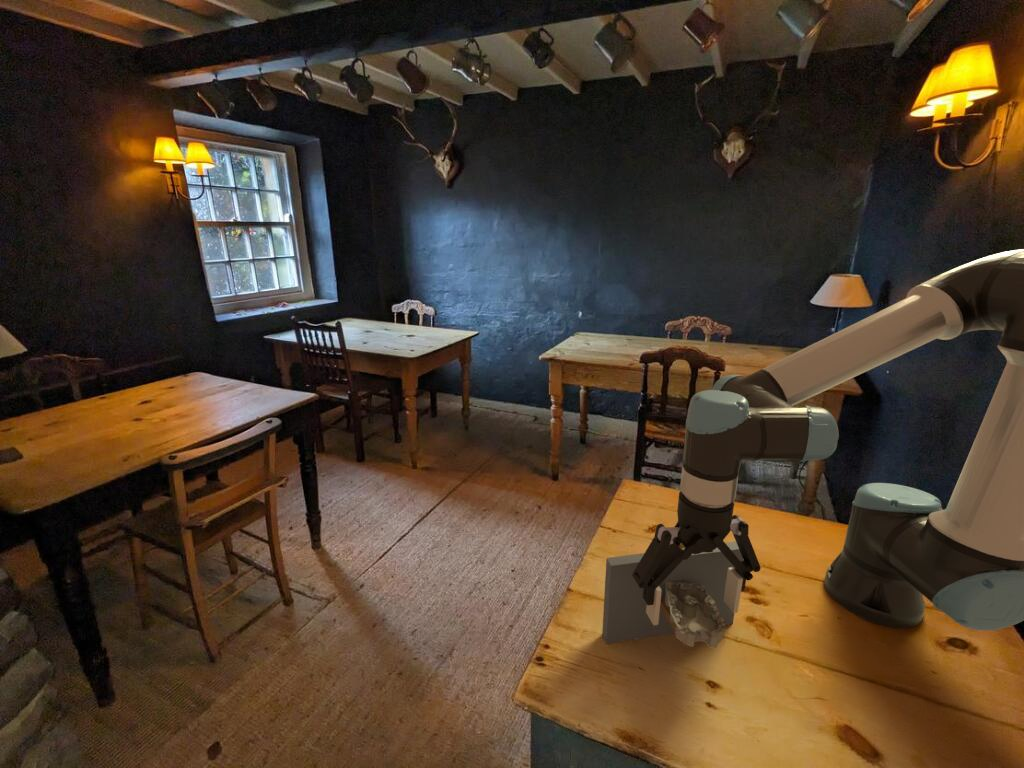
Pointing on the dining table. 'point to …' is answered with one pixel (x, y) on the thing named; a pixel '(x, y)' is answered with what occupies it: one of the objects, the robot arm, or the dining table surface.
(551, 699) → the dining table surface
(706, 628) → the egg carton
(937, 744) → the dining table surface
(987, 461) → the robot arm
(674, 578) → the wall board
